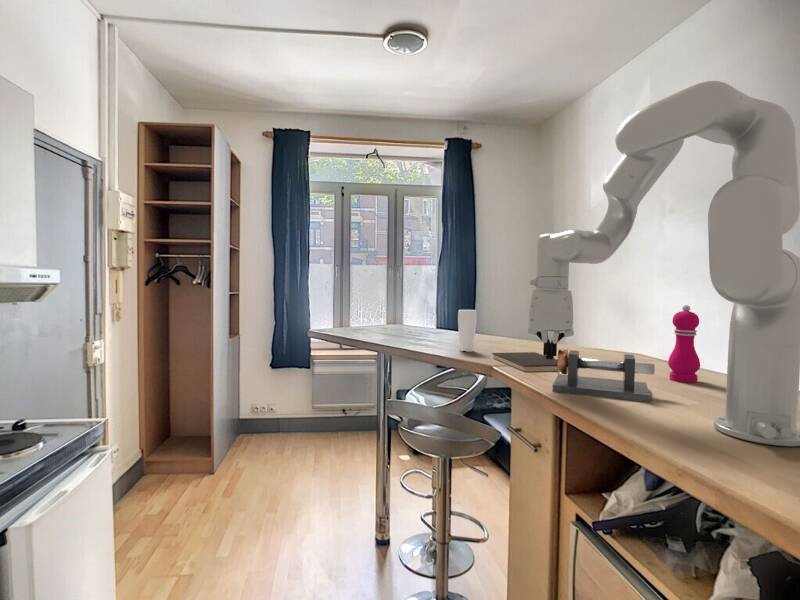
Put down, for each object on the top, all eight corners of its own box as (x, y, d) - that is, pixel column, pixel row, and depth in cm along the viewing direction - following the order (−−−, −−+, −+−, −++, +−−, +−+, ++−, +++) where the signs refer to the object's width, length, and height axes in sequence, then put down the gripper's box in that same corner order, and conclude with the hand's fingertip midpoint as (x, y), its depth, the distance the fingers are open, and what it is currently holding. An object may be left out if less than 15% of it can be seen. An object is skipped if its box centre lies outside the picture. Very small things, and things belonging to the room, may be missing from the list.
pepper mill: (704, 384, 115) (708, 306, 115) (673, 382, 117) (676, 305, 116) (692, 378, 123) (695, 304, 122) (663, 376, 124) (666, 304, 123)
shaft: (652, 379, 105) (653, 354, 105) (654, 385, 100) (655, 358, 99) (559, 371, 114) (560, 347, 113) (557, 375, 108) (557, 350, 108)
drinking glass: (454, 349, 167) (455, 309, 166) (470, 349, 169) (471, 309, 168) (462, 352, 161) (463, 310, 160) (479, 352, 163) (480, 310, 162)
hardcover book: (523, 373, 128) (523, 365, 128) (491, 359, 151) (492, 352, 151) (574, 372, 131) (574, 364, 131) (536, 358, 154) (536, 352, 154)
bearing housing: (645, 388, 109) (646, 353, 109) (650, 402, 97) (652, 362, 96) (558, 379, 118) (559, 347, 117) (552, 391, 105) (553, 355, 104)
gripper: (518, 283, 110) (516, 358, 111) (584, 285, 104) (581, 363, 105) (523, 284, 117) (521, 354, 118) (585, 285, 111) (583, 359, 112)
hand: (549, 358), depth 112 cm, fingers closed
